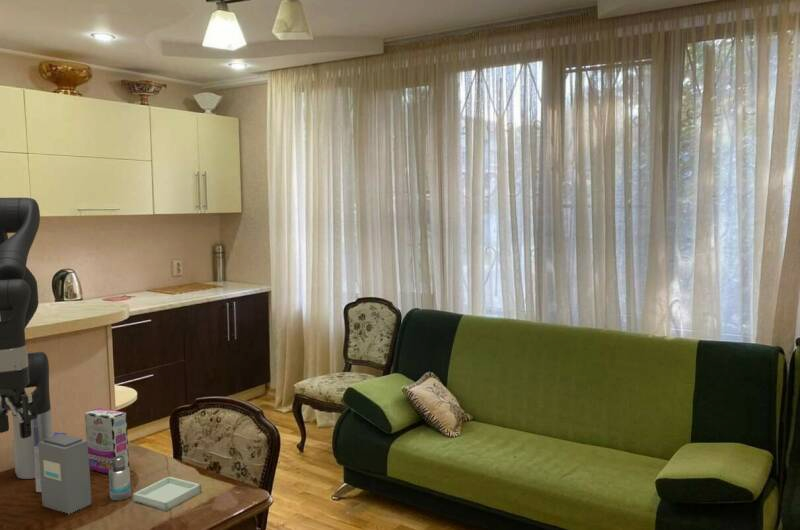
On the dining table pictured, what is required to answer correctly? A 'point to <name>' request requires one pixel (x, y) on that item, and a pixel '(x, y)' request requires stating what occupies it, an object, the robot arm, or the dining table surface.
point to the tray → (167, 493)
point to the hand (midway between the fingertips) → (14, 434)
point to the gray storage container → (64, 473)
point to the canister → (119, 479)
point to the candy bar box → (106, 438)
